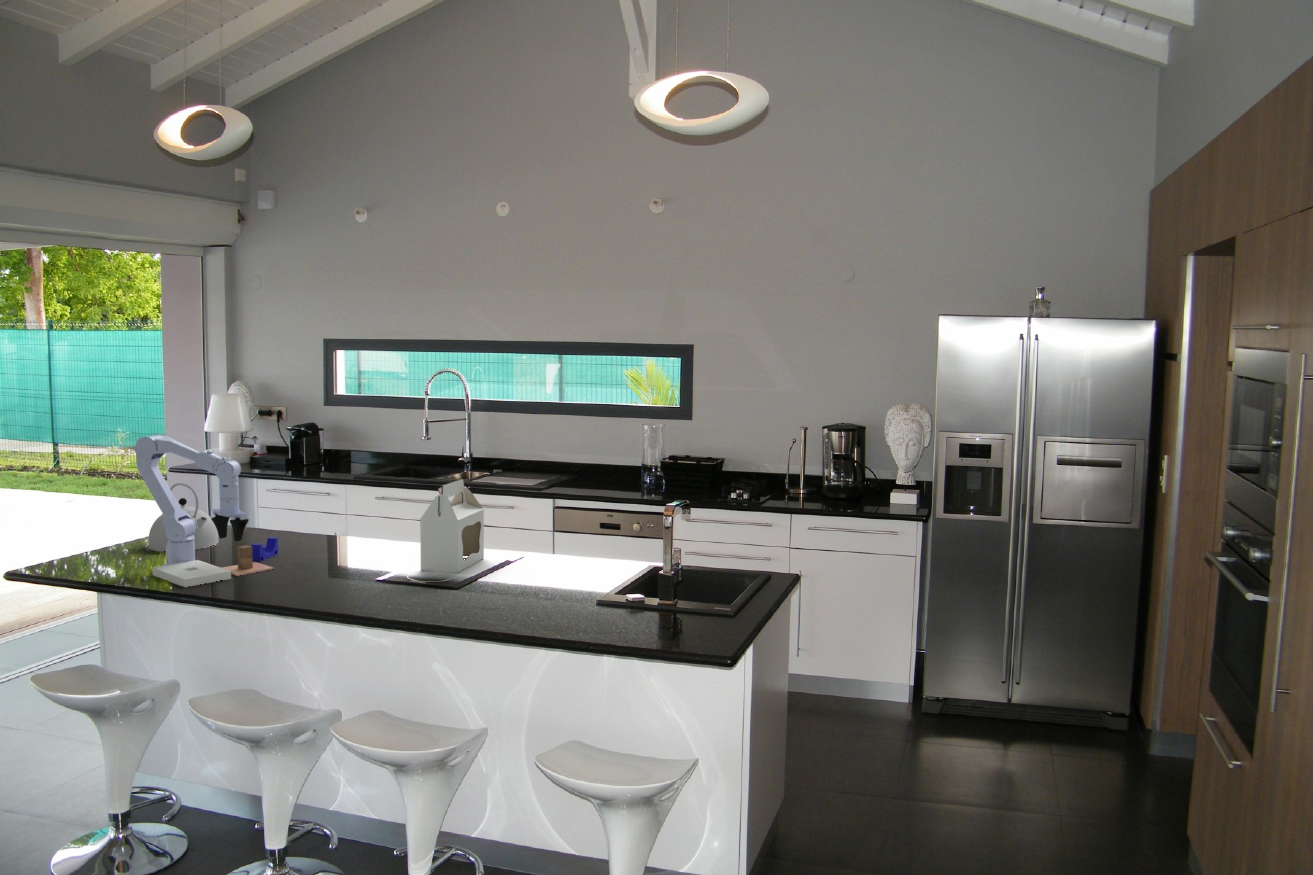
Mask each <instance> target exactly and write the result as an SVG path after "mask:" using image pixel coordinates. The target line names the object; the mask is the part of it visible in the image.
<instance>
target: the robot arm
mask: <svg viewBox="0 0 1313 875" xmlns="http://www.w3.org/2000/svg"><path fill="white" fill-rule="evenodd" d="M133 451H134V453H135V458H136V469H137V470H138V472H139V475H140V477H141V478H142V480H143V482H144V484H145V485H146V487H147V489H148V490H149V493H150V495H151V496H152V497H153V499H154V502H156V505H157V506H158V508H159V509H160V511H161V513H162V514H163V515H164V520H163V525H164V527H165V534H166V536H167V538H168V539H169V541H168V543H167V544H166V552H165V564H162V566H164V565H170V564H176V563H182V562H188V561H194V560H196V550H195V540H194V534H195V533H196V532H197V530H198V524H197V522H196V521H195V520H194V519H193V518H191V517H190V515H189V514H188V512H186V511H184V510H183V509H181V505H180V504H179V501H178V500H177V498H176V497H175V495H174V493H173V490H172V491H171V490H170V488H171V487H170V486H169V485H168V482H167V480H166V479H165V477H164V476H163V474H162V472H161V470H160V469H159V467H158V465H159V462H160V461H161V458H162V457H163V456H164V455H165V454H167V453H171V454H174V455H176V456H180V457H182V458H185V459H186V460H187V459H188V460H190V461H193V462H194V464H195V466H196V467H198V468H199V469H202V470H205V471H207V472H209V473H211V474H215V476H216V477H217V478H218V481H219V482H218V486H219V488H218V489H219V508H216V509H215V508H214V509H212V515H213V516H214V517H211V520H212V521H213V523H214V524H215V526H216V529H217V532H218V539H224V538H225V539H226V538H227V536H228V526H229V525H228V524H229V523H230V525H231V528H232V534H233V540H234V542H239V541H242V540H243V535H244V531H245V529H246V526H247V524H248V523H249V518H248V513H247V512H244V511H242V510H240V488H239V487H240V486H239V484H240V483H239V481H240V480H239V475H240V474H241V472H242V466H241V463H239V461H236V460H235V459H228V458H227V457H225V456H220V455H217V454H215V453H214V451H213V450H209V449H208V450H201V451H198V450H196V449H195V448H193V447H190V446H188V445H186V444H184V443H183V442H179V441H178V440H176V439H174V438H172V437H171V436H166V435H164V434H162V433H161V434H160V433H157V434H154V435H150V436H149V435H148V436H141V437H140V438H138V439H137V441H136V442H135V444H134V447H133ZM230 518H231V519H230Z"/></svg>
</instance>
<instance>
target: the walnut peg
mask: <svg viewBox="0 0 1313 875" xmlns="http://www.w3.org/2000/svg"><path fill="white" fill-rule="evenodd" d="M236 549H237V553H236V554H237V556H236V557H237V565H238V568H239V569H243V570H244V569H250V568H253V561H252V546H251V545H247V544H245V545H241V546H237V547H236Z"/></svg>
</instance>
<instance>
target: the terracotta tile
mask: <svg viewBox="0 0 1313 875" xmlns="http://www.w3.org/2000/svg"><path fill="white" fill-rule="evenodd" d="M221 568H223V569H226V570H229V571H231V575H233V576H236V577H240V575H241V576H245V575H250V574H256V572H257V573H262V572H267V570H268V571H272V569H275V568H274V567H273V566H269V565H267V564H263V563H261V562H253V568H250V569H244V570H243V569H239V568H238V564H236V565H235V564H233V565H229V566H223V567H221Z"/></svg>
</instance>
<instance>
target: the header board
mask: <svg viewBox="0 0 1313 875" xmlns="http://www.w3.org/2000/svg"><path fill="white" fill-rule="evenodd" d="M163 565H164V564H163ZM163 565H158V566H153V567H152V576H154V577H156V578H160V579H162V580H164V581H167V580H168V581H167V582H170V583H172V584H175V585H177V586H180V587H182V586H183V587H182V588H189V586H190V587H194V586H200V584H201V585H205V583H206V584H212V583H217V582H221V581H220V580H223V581H227V580H232V574H231V571H229V570H226V569H223V568H222V567H221V566H218V565H213V564H211V563H209V562H205V561H202V560H200V559H195V560H194V561H188V562H182V563H176V564H170V565H164V566H163ZM216 581H217V582H216Z"/></svg>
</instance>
